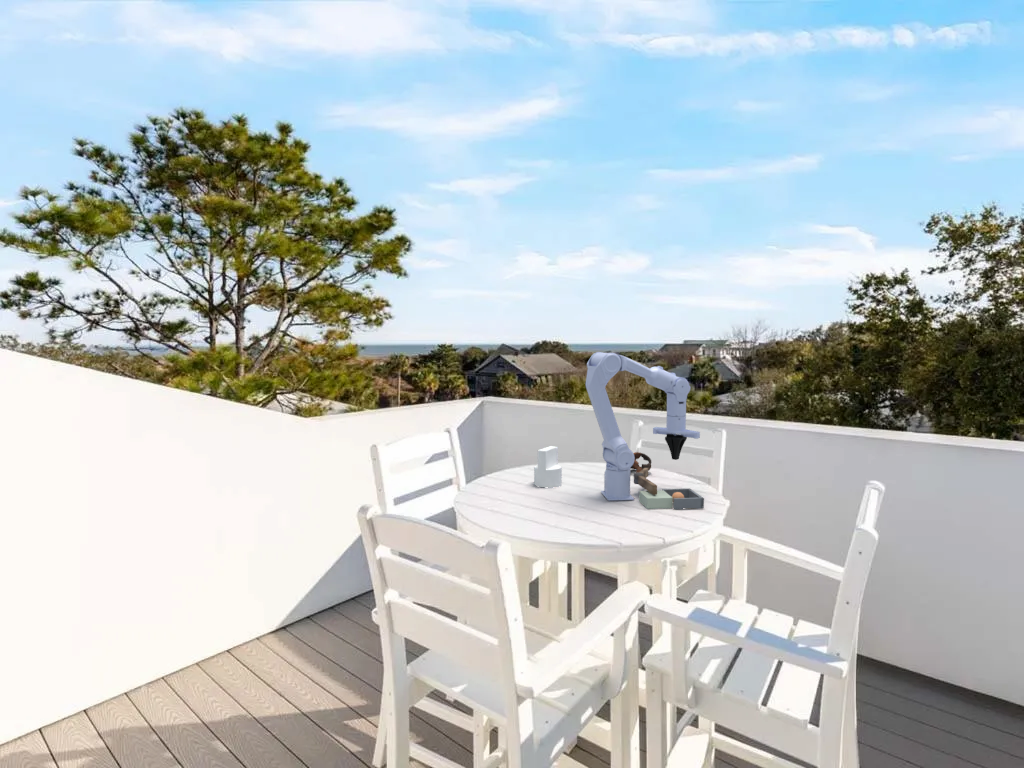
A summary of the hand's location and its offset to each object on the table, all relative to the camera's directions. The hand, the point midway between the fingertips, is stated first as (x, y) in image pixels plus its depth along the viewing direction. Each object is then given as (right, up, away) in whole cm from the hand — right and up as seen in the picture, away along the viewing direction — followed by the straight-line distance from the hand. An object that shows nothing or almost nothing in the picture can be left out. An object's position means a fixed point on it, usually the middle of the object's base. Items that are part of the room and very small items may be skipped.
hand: (675, 459), depth 184 cm
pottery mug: (-7, -9, +27) cm, 29 cm away
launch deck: (-9, -12, -12) cm, 19 cm away
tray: (-1, -11, -12) cm, 16 cm away
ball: (-3, -10, -12) cm, 16 cm away
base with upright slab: (-39, -10, +11) cm, 42 cm away
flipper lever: (-9, -7, -3) cm, 12 cm away
